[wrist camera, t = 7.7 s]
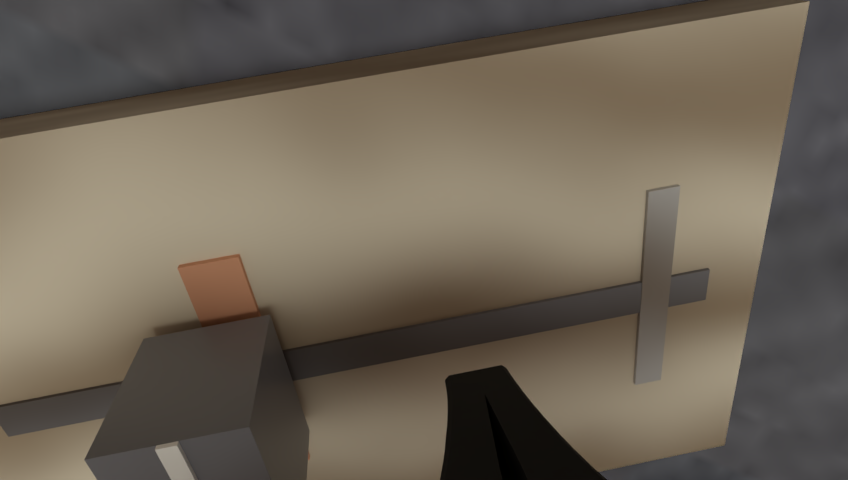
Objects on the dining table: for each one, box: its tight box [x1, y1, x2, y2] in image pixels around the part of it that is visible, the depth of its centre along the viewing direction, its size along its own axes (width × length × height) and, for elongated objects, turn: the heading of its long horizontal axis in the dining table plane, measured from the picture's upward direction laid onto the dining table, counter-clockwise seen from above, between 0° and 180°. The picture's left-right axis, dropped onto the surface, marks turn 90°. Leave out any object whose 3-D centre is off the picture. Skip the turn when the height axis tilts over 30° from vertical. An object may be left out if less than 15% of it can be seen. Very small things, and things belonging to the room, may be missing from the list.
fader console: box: [0, 0, 810, 480], centre depth 16 cm, size 14×23×2 cm, turn 98°
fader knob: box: [84, 315, 310, 480], centre depth 13 cm, size 4×3×4 cm
